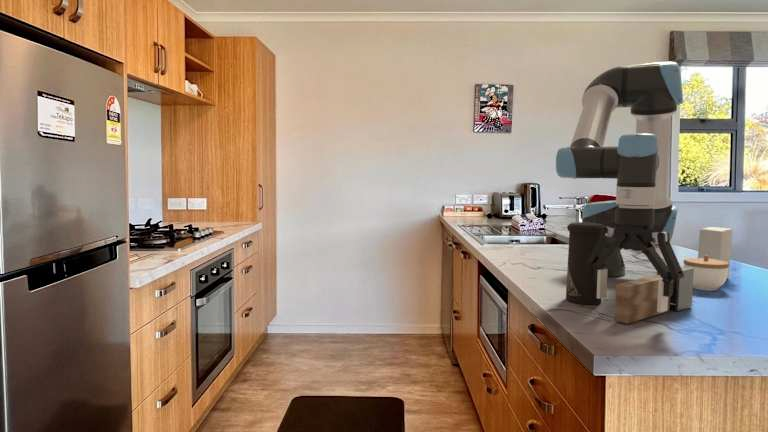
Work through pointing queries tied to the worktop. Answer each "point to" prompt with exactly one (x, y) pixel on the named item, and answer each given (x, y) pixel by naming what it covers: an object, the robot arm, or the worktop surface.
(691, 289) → the grey angled block
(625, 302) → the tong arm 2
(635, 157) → the robot arm
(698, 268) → the lidded jar
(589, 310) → the worktop surface
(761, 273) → the worktop surface
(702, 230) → the skincare box
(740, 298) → the worktop surface
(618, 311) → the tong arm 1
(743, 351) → the worktop surface
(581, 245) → the container
